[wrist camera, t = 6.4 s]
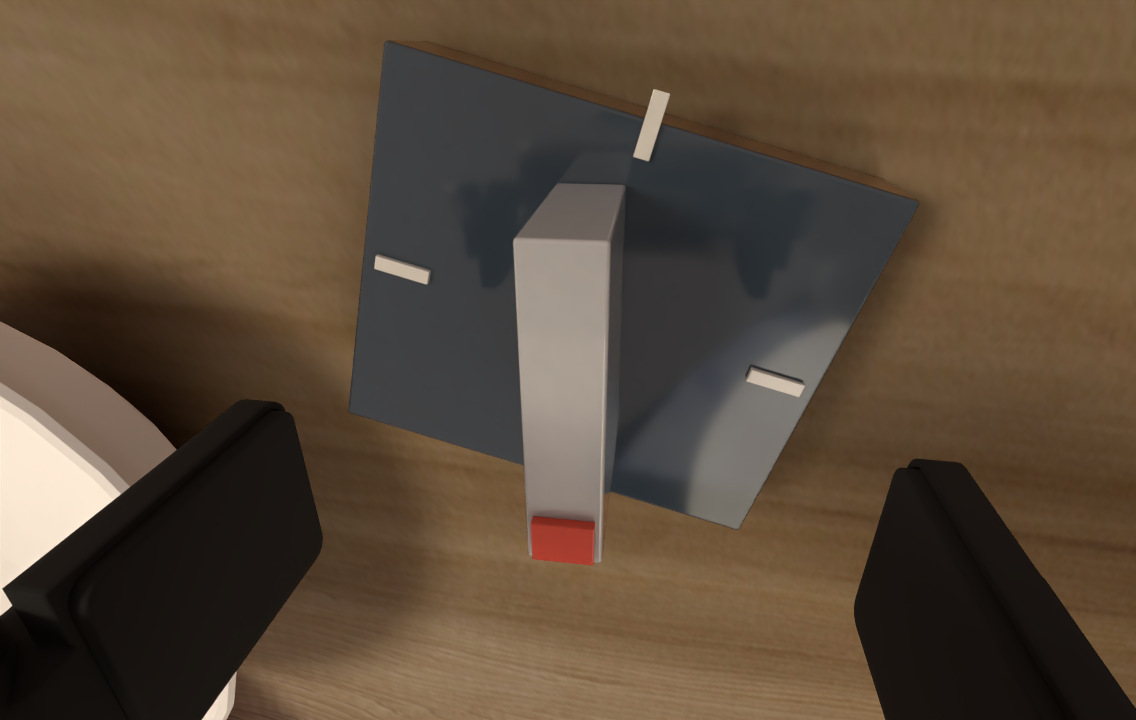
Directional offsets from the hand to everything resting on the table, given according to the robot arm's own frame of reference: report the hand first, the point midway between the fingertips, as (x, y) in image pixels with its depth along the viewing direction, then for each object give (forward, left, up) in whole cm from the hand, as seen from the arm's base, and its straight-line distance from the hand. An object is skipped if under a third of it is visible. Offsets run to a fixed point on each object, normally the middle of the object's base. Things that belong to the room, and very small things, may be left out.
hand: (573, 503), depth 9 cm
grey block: (+1, 0, -6) cm, 6 cm away
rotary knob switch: (+1, 0, -9) cm, 9 cm away
